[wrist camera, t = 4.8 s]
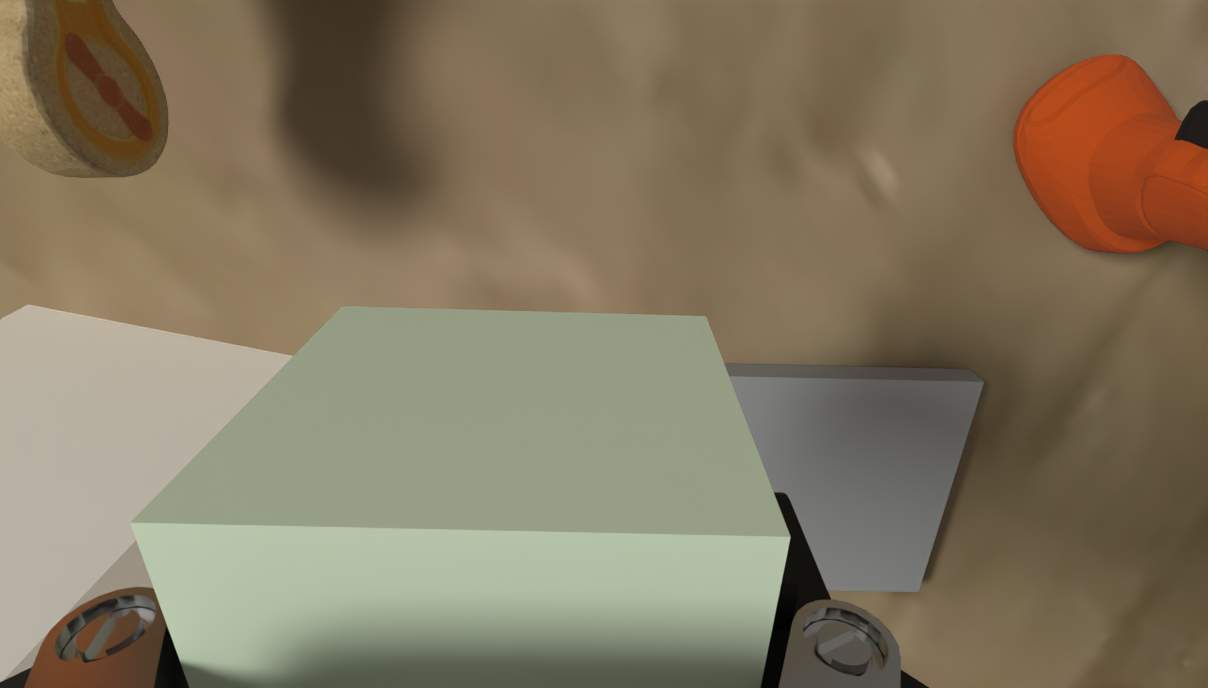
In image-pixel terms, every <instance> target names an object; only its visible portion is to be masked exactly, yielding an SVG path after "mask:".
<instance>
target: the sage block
mask: <svg viewBox="0 0 1208 688" xmlns="http://www.w3.org/2000/svg"><path fill="white" fill-rule="evenodd" d="M130 524H131V527H132V529H133V532H134V535H135V538H136V541H137V543H138V546H139V549H140V552H141V554H142V557H143V560H144V563H145V566H146V568H147V571H148V574H149V577H150V579H151V582H152V585H153V588H154V591H155V593H156V596H157V599H158V602H159V604H160V607H161V610H162V613H163V615H164V618H165V621H166V624H167V627H168V629H169V632H170V635H171V638H172V640H173V643H174V646H175V649H176V652H177V654H178V657H179V660H180V663H181V665H182V668H183V671H184V674H185V677H186V679H187V682H188V685H189V688H760V687H761V682H762V677H763V672H764V667H765V662H766V657H767V652H768V647H769V642H770V637H771V632H772V628H773V623H774V618H775V613H776V608H777V603H778V598H779V593H780V588H781V583H782V578H783V573H784V568H785V563H786V558H787V553H788V548H789V543H790V538H791V536H790V534H789V531H788V529H787V526H786V523H785V521H784V518H783V516H782V513H781V510H780V508H779V505H778V503H777V500H776V497H775V495H774V492H773V490H772V487H771V484H770V482H769V479H768V477H767V474H766V471H765V469H764V466H763V464H762V461H761V458H760V456H759V453H758V451H757V448H756V445H755V443H754V440H753V438H752V435H751V432H750V430H749V427H748V425H747V422H746V419H745V417H744V414H743V412H742V409H741V406H740V404H739V401H738V399H737V396H736V393H735V391H734V388H733V386H732V383H731V380H730V378H729V375H728V373H727V370H726V367H725V365H724V362H723V360H722V357H721V354H720V352H719V349H718V347H717V344H716V341H715V339H714V336H713V334H712V331H711V328H710V326H709V323H708V320H707V318H706V316H677V315H641V314H604V313H568V312H532V311H496V310H460V309H424V308H388V307H351V306H342V307H341V308H340V309H339V310H338V311H337V312H336V313H335V314H334V315H333V316H332V317H331V318H330V319H329V320H328V321H327V322H326V323H325V324H324V325H323V327H322V328H321V329H320V330H319V331H318V332H317V333H316V334H315V335H314V336H313V337H312V338H311V339H310V340H309V341H308V342H307V343H306V344H305V345H304V346H303V347H302V348H301V349H300V350H299V351H298V352H297V353H296V354H295V355H294V356H293V357H292V358H291V359H290V360H289V361H288V362H287V363H286V364H285V365H284V366H283V367H282V368H281V369H280V370H279V371H278V372H277V373H276V374H275V375H274V376H273V377H272V378H271V380H270V381H269V382H268V383H267V384H266V385H265V386H264V387H263V388H262V389H261V390H260V391H259V392H258V393H257V394H256V395H255V396H254V397H253V398H252V399H251V400H250V401H249V402H248V403H247V404H246V405H245V406H244V407H243V408H242V409H241V410H240V411H239V412H238V413H237V414H236V415H235V416H234V417H233V418H232V419H231V420H230V421H229V422H228V423H227V424H226V425H225V426H224V427H223V428H222V429H221V430H220V431H219V432H218V434H217V435H216V436H215V437H214V438H213V439H212V440H211V441H210V442H209V443H208V444H207V445H206V446H205V447H204V448H203V449H202V450H201V451H200V452H199V453H198V454H197V455H196V456H195V457H194V458H193V459H192V460H191V461H190V462H189V463H188V464H187V465H186V466H185V467H184V468H183V469H182V470H181V471H180V472H179V473H178V474H177V475H176V476H175V477H174V478H173V479H172V480H171V481H170V482H169V483H168V484H167V485H166V487H165V488H164V489H163V490H162V491H161V492H160V493H159V494H158V495H157V496H156V497H155V498H154V499H153V500H152V501H151V502H150V503H149V504H148V505H147V506H146V507H145V508H144V509H143V510H142V511H141V512H140V513H139V514H138V515H137V516H136V517H135V518H134V519H133V520H132V521H131V522H130Z"/></svg>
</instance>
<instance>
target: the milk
mask: <svg viewBox="0 0 1208 688" xmlns="http://www.w3.org/2000/svg"><path fill="white" fill-rule="evenodd" d="M292 357H293V356H290V355H285V354H280V353H275V352H269V351H264V350H259V349H254V348H249V347H244V346H239V345H233V344H228V343H223V342H218V341H213V340H208V339H203V338H198V337H192V336H187V335H182V334H177V333H172V332H167V331H162V330H156V329H151V328H146V327H141V326H136V325H131V324H126V323H120V322H115V321H110V320H105V319H100V318H95V317H90V316H84V315H79V314H74V313H69V312H64V311H59V310H54V309H48V308H43V307H38V306H33V305H26V306H24V307H22V308H21V309H19V310H17V311H15V312H13V313H11V314H9V315H7V316H6V317H4V318H2V319H0V682H1V681H4V680H6V679H8V678H10V677H12V676H14V675H16V674H18V673H20V672H22V671H25V670H27V669H29V668H31V667H32V666H33V664H34V661H35V659H36V656H37V654H38V651H39V649H40V646H41V644H42V642H43V641H44V639H45V637H46V636H47V634H48V633H49V631H50V630H51V629H52V628H53V627H54V626H55V625H56V624H57V623H58V622H59V621H60V620H61V619H62V618H63V617H64V616H66V615H67V614H69V613H70V612H71V611H73V610H74V609H76V608H77V607H79V606H80V605H82V604H84V603H86V602H88V601H90V600H92V599H94V598H96V597H98V596H100V595H103V594H106V593H109V592H112V591H115V590H118V589H125V588H131V587H149V588H153V585H152V582H151V579H150V577H149V574H148V571H147V568H146V566H145V563H144V560H143V557H142V554H141V552H140V549H139V546H138V543H137V541H136V538H135V535H134V532H133V529H132V527H131V524H130V522H131V521H132V520H133V519H134V518H135V517H136V516H137V515H138V514H139V513H140V512H141V511H142V510H143V509H144V508H145V507H146V506H147V505H148V504H149V503H150V502H151V501H152V500H153V499H154V498H155V497H156V496H157V495H158V494H159V493H160V492H161V491H162V490H163V489H164V488H165V487H166V485H167V484H168V483H169V482H170V481H171V480H172V479H173V478H174V477H175V476H176V475H177V474H178V473H179V472H180V471H181V470H182V469H183V468H184V467H185V466H186V465H187V464H188V463H189V462H190V461H191V460H192V459H193V458H194V457H195V456H196V455H197V454H198V453H199V452H200V451H201V450H202V449H203V448H204V447H205V446H206V445H207V444H208V443H209V442H210V441H211V440H212V439H213V438H214V437H215V436H216V435H217V434H218V432H219V431H220V430H221V429H222V428H223V427H224V426H225V425H226V424H227V423H228V422H229V421H230V420H231V419H232V418H233V417H234V416H235V415H236V414H237V413H238V412H239V411H240V410H241V409H242V408H243V407H244V406H245V405H246V404H247V403H248V402H249V401H250V400H251V399H252V398H253V397H254V396H255V395H256V394H257V393H258V392H259V391H260V390H261V389H262V388H263V387H264V386H265V385H266V384H267V383H268V382H269V381H270V380H271V378H272V377H273V376H274V375H275V374H276V373H277V372H278V371H279V370H280V369H281V368H282V367H283V366H284V365H285V364H286V363H287V362H288V361H289V360H290V359H291V358H292ZM153 589H154V588H153Z"/></svg>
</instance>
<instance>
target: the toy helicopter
mask: <svg viewBox="0 0 1208 688" xmlns="http://www.w3.org/2000/svg"><path fill="white" fill-rule="evenodd" d="M167 135H168V107H167V101H166V96H165V93H164V89H163V86H162V83H161V80H160V77H159V75H158V73H157V71H156V68H155V66H154V64H153V62H152V60H151V58H150V57H149V55H148V53H147V51H146V50H145V48H144V46H143V44H142V43H141V41H140V40H139V38H138V37H137V35H136V34H135V33H134V31H133V30H132V29H131V28H130V26H129V25H128V24H127V23H126V22H125V20H124V19H123V18H122V17H121V15H120V14H119V12H118V11H117V9H116V7H115V5H114V3H113V1H112V0H0V139H1V140H2V141H3V142H4V143H5V144H6V145H7V146H8V147H10V148H11V149H12V150H13V151H14V152H15V153H17V154H18V155H19V156H20V157H22V158H23V159H24V160H26V161H27V162H29V163H31V164H32V165H34V166H36V167H38V168H40V169H42V170H45V171H47V172H50V173H52V174H57V175H61V176H65V177H78V178H100V177H127V176H133V175H137V174H140V173H142V172H144V171H146V170H148V169H149V168H151V167H152V166H153V165H154V164H155V163H156V162H157V160H158V159H159V157H160V155H161V153H162V152H163V149H164V147H165V145H166V141H167Z"/></svg>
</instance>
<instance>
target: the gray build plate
mask: <svg viewBox="0 0 1208 688" xmlns="http://www.w3.org/2000/svg"><path fill="white" fill-rule="evenodd" d="M724 365H725V367H726V370H727V373H728V375H729V378H730V380H731V383H732V386H733V388H734V391H735V393H736V396H737V399H738V401H739V404H740V406H741V409H742V412H743V414H744V417H745V419H746V422H747V425H748V427H749V430H750V432H751V435H752V438H753V440H754V443H755V445H756V448H757V451H758V453H759V456H760V458H761V461H762V464H763V466H764V469H765V471H766V474H767V477H768V479H769V482H770V484H771V487H772V490H773V492H782V493H785V494H787V496H788V498H789V499H790V501H791V504H792V506H793V509H794V511H795V513H796V516H797V518H798V521H799V523H800V525H801V528H802V530H803V533H804V535H805V538H806V540H807V542H808V545H809V547H810V550H811V552H812V554H813V557H814V559H815V562H816V564H817V567H818V569H819V571H820V574H821V576H822V579H823V581H824V583H825V586H826V588H827V590H839V591H899V592H919V589H920V585H921V582H922V579H923V576H924V573H925V570H926V566H927V563H928V560H929V557H930V554H931V550H932V547H933V544H934V541H935V538H936V534H937V531H938V528H939V525H940V522H941V518H942V515H943V512H944V509H945V506H946V503H947V499H948V496H949V493H950V490H951V487H952V483H953V480H954V477H955V474H956V471H957V467H958V464H959V461H960V458H961V455H962V451H963V448H964V445H965V442H966V439H967V436H968V432H969V429H970V426H971V423H972V420H973V416H974V413H975V410H976V407H977V404H978V400H979V397H980V394H981V391H982V388H983V384H984V381H983V380H982V379H980V378H979V377H978V376H977V375H976V374H975V373H973V372H972V371H971V370H970V369H943V368H898V367H853V366H808V365H763V364H724Z"/></svg>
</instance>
